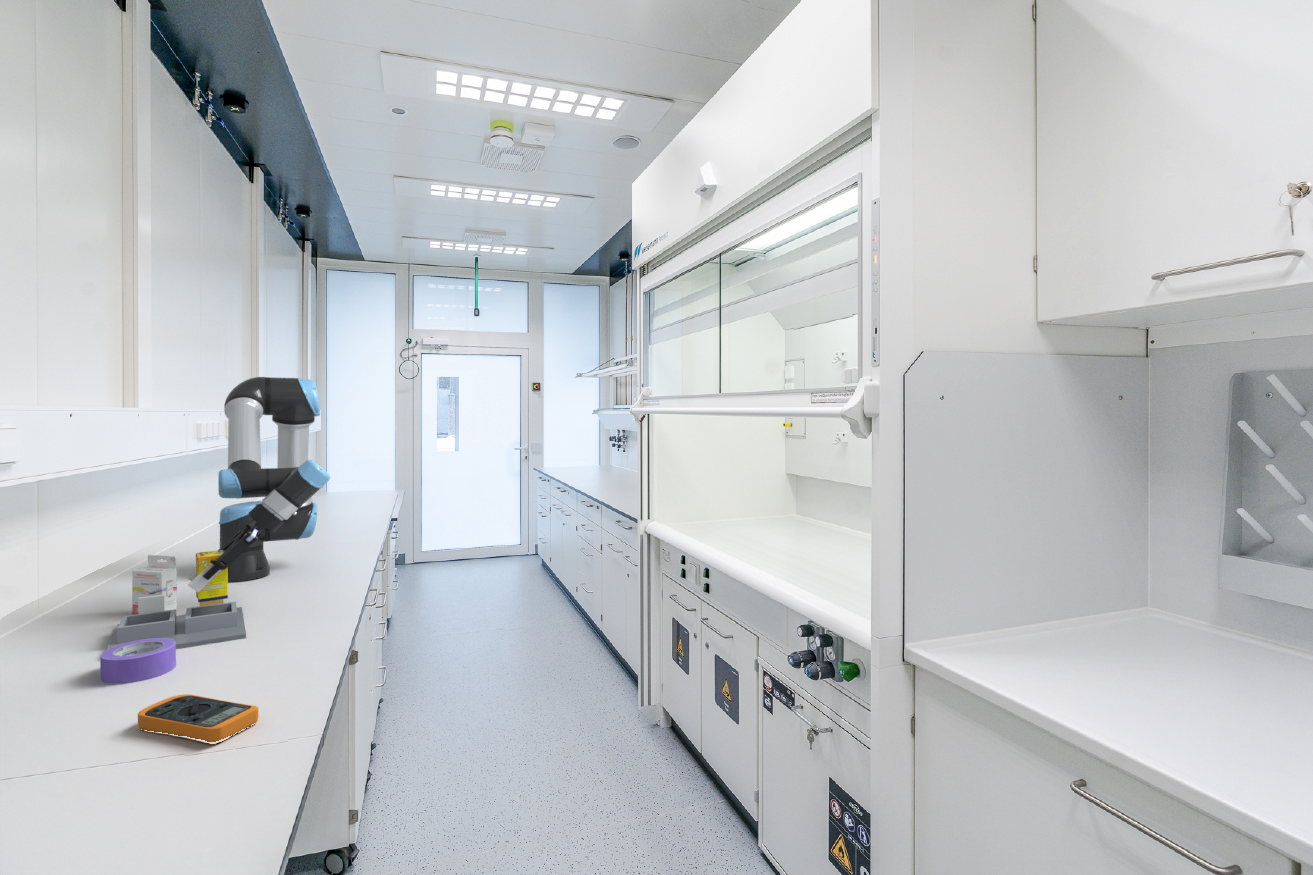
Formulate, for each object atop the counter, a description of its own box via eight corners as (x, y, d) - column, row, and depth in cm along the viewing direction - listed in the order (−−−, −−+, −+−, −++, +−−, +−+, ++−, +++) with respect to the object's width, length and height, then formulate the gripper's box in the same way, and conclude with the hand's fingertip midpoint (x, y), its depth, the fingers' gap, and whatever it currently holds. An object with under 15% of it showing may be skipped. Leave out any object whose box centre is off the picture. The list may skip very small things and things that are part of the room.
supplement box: (195, 597, 153) (195, 552, 152) (225, 593, 156) (225, 549, 156) (197, 602, 148) (197, 556, 148) (228, 598, 152) (227, 553, 152)
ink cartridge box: (130, 615, 161) (130, 558, 160) (148, 609, 166) (147, 554, 165) (161, 617, 160) (161, 560, 160) (178, 611, 165) (177, 555, 164)
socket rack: (117, 627, 152) (117, 599, 152) (241, 610, 166) (241, 584, 166) (104, 660, 132) (103, 627, 132) (246, 637, 147) (245, 608, 147)
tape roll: (95, 689, 119) (94, 663, 119) (106, 668, 129) (105, 644, 129) (173, 676, 125) (173, 651, 125) (178, 657, 135) (178, 634, 135)
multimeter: (181, 709, 112) (181, 690, 112) (262, 724, 107) (262, 704, 107) (130, 732, 104) (130, 711, 104) (215, 749, 99) (214, 728, 99)
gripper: (288, 527, 153) (206, 604, 144) (281, 516, 168) (207, 585, 159) (263, 506, 150) (177, 584, 141) (257, 497, 165) (180, 567, 156)
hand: (193, 585), depth 150 cm, fingers closed on supplement box, 6 cm apart
